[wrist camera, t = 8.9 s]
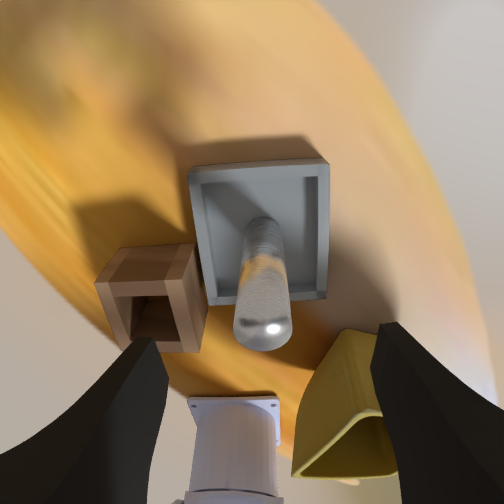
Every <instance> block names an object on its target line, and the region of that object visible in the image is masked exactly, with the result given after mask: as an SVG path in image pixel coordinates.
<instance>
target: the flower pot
mask: <svg viewBox="0 0 504 504" xmlns="http://www.w3.org/2000/svg"><path fill="white" fill-rule="evenodd" d="M376 339H377V335H374V334H370V333H365V332H361V331H357V330H353V329H344V330H342V331H341V332H340V334H339V335H338V337H337V338H336V340H335V341H334V343H333V345H332V346H331V348H330V349H329V351H328V352H327V354H326V355H325V357H324V358H323V360H322V361H321V363H320V364H319V366H318V367H317V369H316V370H315V372H314V374H313V376H312V378H311V379H310V381H309V383H308V385H307V387H306V389H305V392H304V394H303V397H302V399H301V402H300V405H299V409H298V413H297V418H296V426H295V438H294V450H293V461H292V472H291V477H294V478H303V479H321V480H322V479H323V480H346V479H367V478H382V477H389V476H393V475H395V474H397V473H398V468H397V463H396V457H395V453H394V449H393V446H392V443H391V439H390V436H389V433H388V430H387V427H386V424H385V421H384V418H383V415H382V412H381V409H380V406H379V403H378V400H377V397H376V394H375V390H374V385H373V381H372V376H371V371H370V364H371V360H372V356H373V352H374V348H375V343H376Z"/></svg>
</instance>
